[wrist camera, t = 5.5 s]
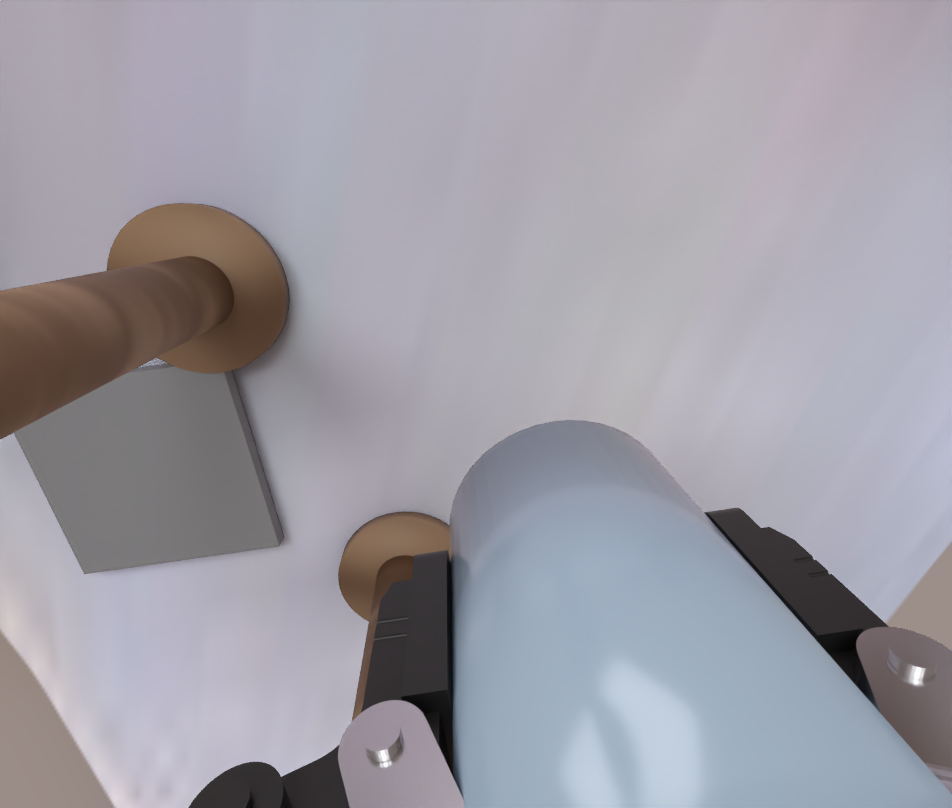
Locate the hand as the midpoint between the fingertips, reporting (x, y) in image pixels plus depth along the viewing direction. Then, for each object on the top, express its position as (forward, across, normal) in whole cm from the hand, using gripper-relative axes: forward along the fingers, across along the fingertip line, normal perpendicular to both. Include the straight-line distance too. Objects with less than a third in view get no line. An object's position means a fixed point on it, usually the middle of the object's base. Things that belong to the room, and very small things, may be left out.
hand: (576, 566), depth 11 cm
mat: (+14, +18, +2) cm, 23 cm away
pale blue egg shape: (+2, 0, 0) cm, 2 cm away
